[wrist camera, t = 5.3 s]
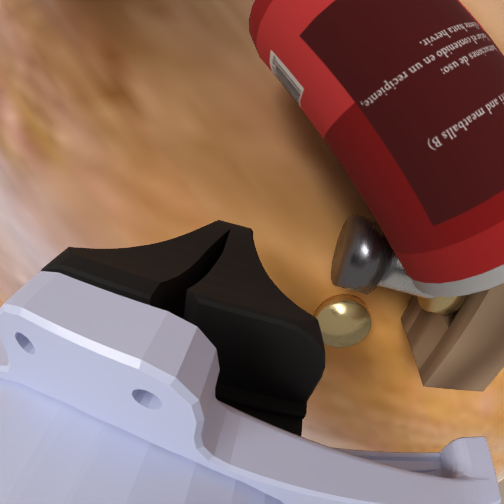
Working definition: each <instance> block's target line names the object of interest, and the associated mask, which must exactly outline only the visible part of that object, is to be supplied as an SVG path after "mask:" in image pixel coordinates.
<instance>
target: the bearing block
mask: <svg viewBox="0 0 504 504" xmlns="http://www.w3.org/2000/svg"><path fill="white" fill-rule="evenodd" d="M401 320H402V323H403V326H404V329H405V331H406V334H407V337H408V340H409V343H410V346H411V349H412V352H413V355H414V358H415V361H416V364H417V367H418V370H419V374H420V377H421V380H422V384H423V386H426V387H436V388H445V389H456V390H469V391H484V390H485V389H486V387H487V386H488V385H489V384H490V383H491V382H492V380H493V379H494V378H495V377H496V376H497V374H498V373H499V372H500V371H501V369H502V368H503V367H504V283H502V284H500V285H497V286H495V287H493V288H490V289H487V290H484V291H480V292H476V293H472V294H469V295H468V296H467V298H466V300H465V302H464V303H463V305H462V307H461V308H459V309H458V310H457V311H456V312H455V313H453V314H451V315H441V314H437V313H433V312H429V311H426V310H424V309H422V307H421V306H420V304H419V302H418V297H417V296H415V295H414V296H413V298H412V300H411V301H410V303H409V305H408V307H407V309H406V310H405V312H404V314H403V316H402V317H401Z"/></svg>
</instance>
